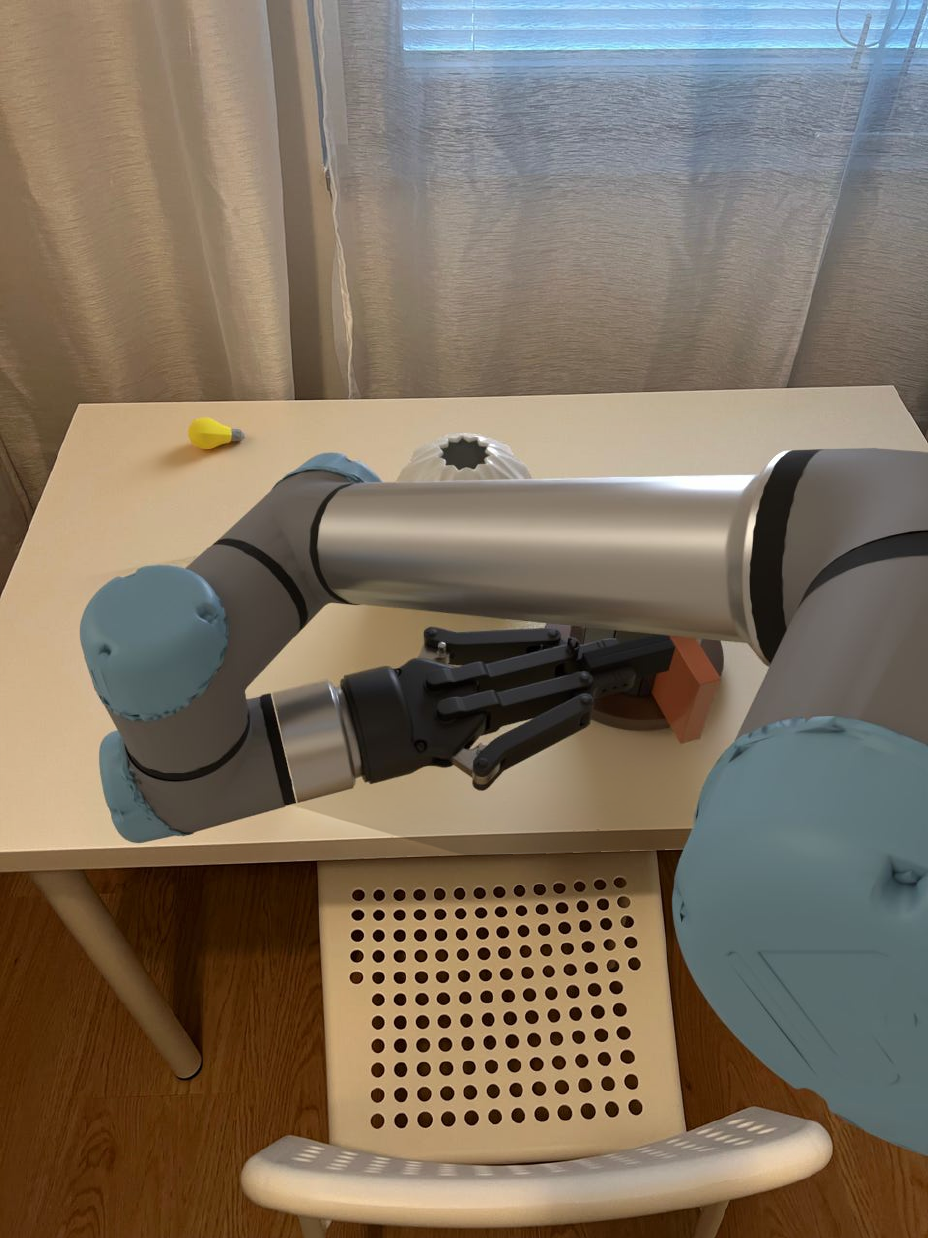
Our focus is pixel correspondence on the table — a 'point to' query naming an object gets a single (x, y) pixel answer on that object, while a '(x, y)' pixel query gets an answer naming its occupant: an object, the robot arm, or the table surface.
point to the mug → (671, 681)
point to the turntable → (641, 709)
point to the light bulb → (212, 433)
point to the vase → (463, 460)
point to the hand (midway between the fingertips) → (667, 651)
